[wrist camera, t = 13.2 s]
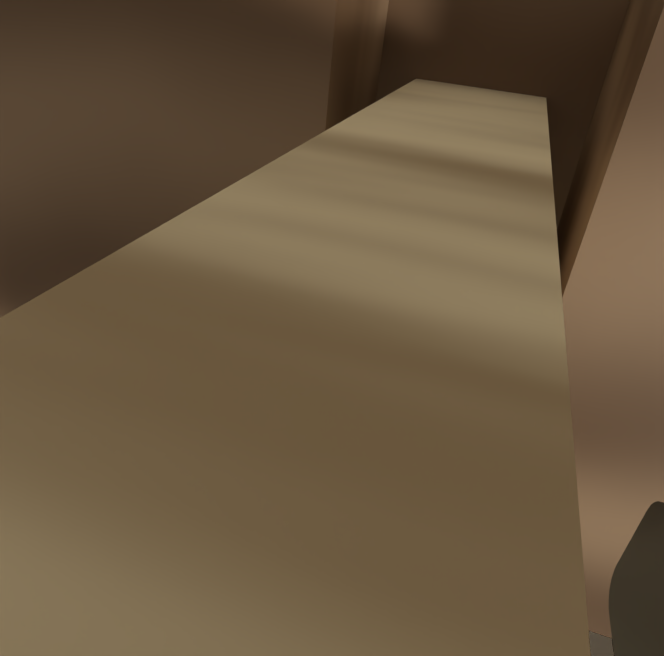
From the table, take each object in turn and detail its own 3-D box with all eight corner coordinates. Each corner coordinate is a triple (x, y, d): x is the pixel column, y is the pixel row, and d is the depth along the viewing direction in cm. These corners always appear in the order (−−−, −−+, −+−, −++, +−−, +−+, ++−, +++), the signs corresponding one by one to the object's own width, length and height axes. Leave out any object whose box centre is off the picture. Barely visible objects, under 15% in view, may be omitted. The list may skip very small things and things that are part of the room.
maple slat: (416, 78, 14) (-340, 514, 2) (545, 97, 13) (609, 933, 1) (363, 407, 19) (72, 1068, 7) (453, 432, 18) (299, 1203, 6)
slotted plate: (61, -64, 15) (-115, -91, 11) (1175, 56, 10) (1599, 88, 6) (112, 360, 23) (17, 439, 19) (785, 553, 18) (862, 721, 13)
